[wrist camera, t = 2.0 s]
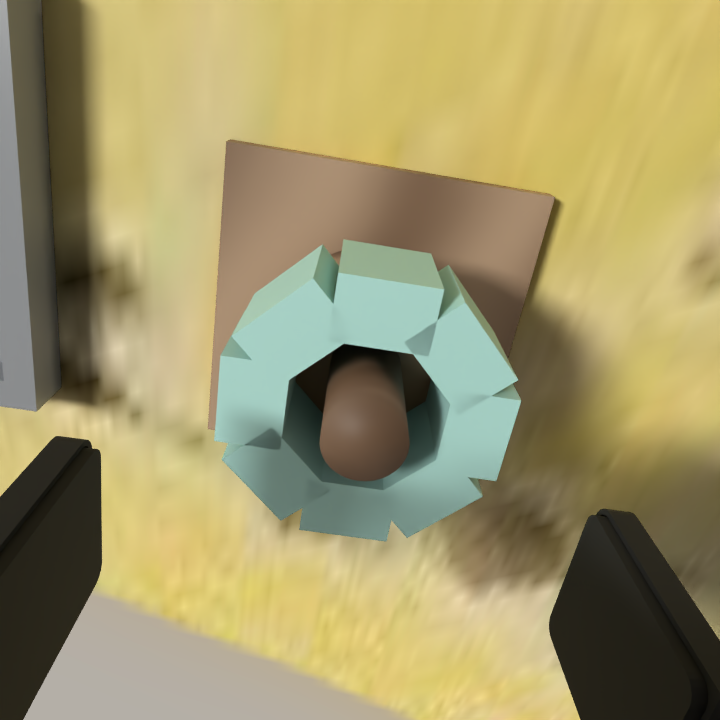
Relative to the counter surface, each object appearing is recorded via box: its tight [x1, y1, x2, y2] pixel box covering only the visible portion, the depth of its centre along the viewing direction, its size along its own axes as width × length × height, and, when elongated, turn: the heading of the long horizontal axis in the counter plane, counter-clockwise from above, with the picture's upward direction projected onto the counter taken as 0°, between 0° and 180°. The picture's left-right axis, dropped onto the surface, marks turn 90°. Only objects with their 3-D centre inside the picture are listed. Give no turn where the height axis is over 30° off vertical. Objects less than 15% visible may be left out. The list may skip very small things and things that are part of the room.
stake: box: [208, 140, 555, 481], centre depth 17 cm, size 10×10×8 cm
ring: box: [214, 239, 521, 541], centre depth 16 cm, size 7×7×3 cm
